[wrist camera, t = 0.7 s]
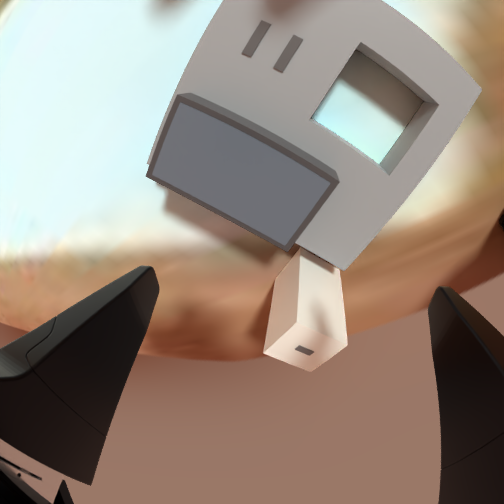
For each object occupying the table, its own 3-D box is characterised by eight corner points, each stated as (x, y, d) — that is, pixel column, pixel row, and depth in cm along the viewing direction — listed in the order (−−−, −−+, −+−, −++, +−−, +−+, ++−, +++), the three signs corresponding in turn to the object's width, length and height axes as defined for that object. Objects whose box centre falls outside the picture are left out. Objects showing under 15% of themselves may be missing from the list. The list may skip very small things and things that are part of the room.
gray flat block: (335, 171, 16) (340, 182, 14) (289, 235, 19) (287, 252, 17) (190, 92, 14) (176, 94, 13) (159, 166, 17) (145, 176, 16)
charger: (339, 269, 23) (347, 346, 16) (312, 297, 25) (310, 372, 18) (300, 247, 22) (296, 323, 16) (275, 278, 24) (263, 354, 18)
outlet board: (464, 86, 12) (483, 89, 10) (340, 252, 22) (344, 271, 20) (267, -40, 10) (262, -55, 8) (162, 153, 19) (146, 163, 17)
